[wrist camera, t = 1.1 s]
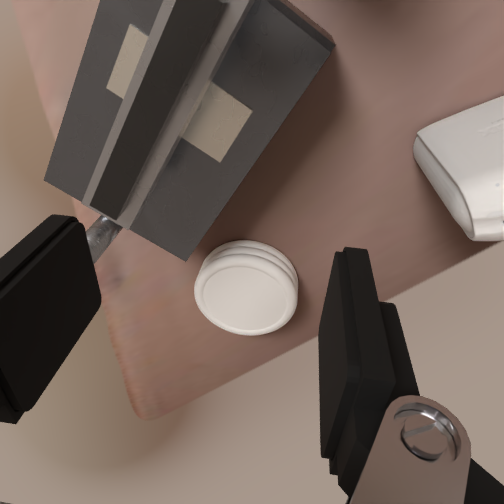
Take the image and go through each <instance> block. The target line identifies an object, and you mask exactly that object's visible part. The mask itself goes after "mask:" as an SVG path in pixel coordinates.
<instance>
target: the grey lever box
mask: <svg viewBox="0 0 504 504" xmlns="http://www.w3.org/2000/svg"><path fill="white" fill-rule="evenodd" d="M162 2H163V0H100V3H99V6H98V9H97V12H96V16H95V19H94V22H93V25H92V28H91V32H90V35H89V38H88V41H87V44H86V47H85V51H84V54H83V57H82V60H81V63H80V66H79V70H78V73H77V76H76V79H75V82H74V85H73V89H72V92H71V95H70V98H69V101H68V104H67V108H66V111H65V114H64V117H63V120H62V124H61V127H60V130H59V133H58V136H57V139H56V143H55V146H54V149H53V152H52V156H51V158H50V162H49V165H48V168H47V171H46V175H45V177H44V181H46V182H48V183H50V184H51V185H53V186H55V187H57V188H58V189H60V190H62V191H64V192H65V193H67V194H69V195H71V196H72V197H74V198H76V199H77V200H79V201H81V202H82V200H83V198H84V195H85V193H86V190H87V188H88V185H89V183H90V180H91V178H92V175H93V173H94V170H95V168H96V166H97V163H98V161H99V158H100V156H101V153H102V151H103V148H104V146H105V143H106V141H107V138H108V136H109V133H110V131H111V128H112V126H113V123H114V121H115V119H116V116H117V114H118V111H119V109H120V106H121V104H122V101H123V99H124V96H125V94H126V91H127V89H128V86H129V84H130V81H131V79H132V77H133V74H134V72H135V69H136V67H137V64H138V62H139V59H140V57H141V54H142V52H143V49H144V47H145V44H146V42H147V39H148V37H149V35H150V32H151V30H152V27H153V25H154V22H155V20H156V17H157V15H158V12H159V10H160V7H161V5H162ZM334 47H335V43H334V40H333V38H332V36H331V35H330V34H329V33H328V32H326V31H325V30H324V29H323V28H321V27H320V26H319V25H318V24H316V23H315V22H314V21H313V20H311V19H310V18H309V17H308V16H306V15H305V14H304V13H303V12H301V11H300V10H299V9H298V8H296V7H295V6H294V5H293V4H291V3H290V2H289V1H288V0H255V1H254V3H253V5H252V7H251V9H250V10H249V12H248V14H247V16H246V18H245V20H244V22H243V24H242V25H241V27H240V29H239V31H238V33H237V35H236V37H235V39H234V40H233V42H232V44H231V46H230V48H229V50H228V52H227V53H226V55H225V57H224V59H223V61H222V63H221V65H220V67H219V68H218V70H217V72H216V74H215V76H214V78H213V80H212V82H211V83H210V85H209V87H208V89H207V91H206V93H205V95H204V96H203V98H202V100H201V102H200V104H199V106H198V108H197V110H196V111H195V113H194V115H193V117H192V119H191V121H190V123H189V125H188V126H187V128H186V130H185V132H184V134H183V136H182V138H181V140H180V141H179V143H178V145H177V147H176V149H175V151H174V153H173V154H172V156H171V158H170V160H169V162H168V164H167V166H166V168H165V169H164V171H163V173H162V175H161V177H160V179H159V181H158V183H157V184H156V186H155V188H154V190H153V192H152V194H151V196H150V197H149V199H148V201H147V203H146V205H145V207H144V209H143V211H142V212H141V214H140V216H139V217H138V218H137V219H136V221H135V222H134V223H133V225H132V226H131V227H130V230H132V231H133V232H135V233H137V234H138V235H140V236H142V237H144V238H145V239H147V240H149V241H151V242H152V243H154V244H156V245H158V246H159V247H161V248H163V249H165V250H166V251H168V252H170V253H172V254H173V255H175V256H177V257H179V258H180V259H182V260H184V261H187V260H188V258H189V257H190V255H191V254H192V252H193V251H194V249H195V248H196V247H197V245H198V244H199V242H200V241H201V239H202V238H203V237H204V235H205V234H206V232H207V231H208V229H209V228H210V226H211V225H212V224H213V222H214V221H215V219H216V218H217V216H218V215H219V213H220V212H221V211H222V209H223V208H224V206H225V205H226V203H227V202H228V201H229V199H230V198H231V196H232V195H233V193H234V192H235V190H236V189H237V188H238V186H239V185H240V183H241V182H242V180H243V179H244V178H245V176H246V175H247V173H248V172H249V170H250V169H251V167H252V166H253V165H254V163H255V162H256V160H257V159H258V157H259V156H260V154H261V153H262V152H263V150H264V149H265V147H266V146H267V144H268V143H269V142H270V140H271V139H272V137H273V136H274V134H275V133H276V131H277V130H278V129H279V127H280V126H281V124H282V123H283V121H284V120H285V118H286V117H287V116H288V114H289V113H290V111H291V110H292V108H293V107H294V106H295V104H296V103H297V101H298V100H299V98H300V97H301V95H302V94H303V93H304V91H305V90H306V88H307V87H308V85H309V84H310V82H311V81H312V80H313V78H314V77H315V75H316V74H317V72H318V71H319V70H320V68H321V67H322V65H323V64H324V62H325V61H326V59H327V58H328V57H329V55H330V54H331V51H332V49H333V48H334ZM122 228H123V227H122V226H120V225H118V224H116V223H115V222H113V221H111V220H110V219H108V218H106V217H104V216H103V215H101V216H100V217H99V218H98V219H97V220H96V221H95V222H94V224H93V225H92V226H91V227H90V228H89V229H88V230H87V231H86V235H87V240H88V244H89V248H90V252H91V256H92V260H93V264H94V263H95V262H96V261H97V260H98V258H99V257H100V256H101V255H102V253H103V252H104V251H105V250H106V248H107V247H108V246H109V245H110V243H111V242H112V241H113V240H114V238H115V237H116V236H117V235H118V233H119V232H120V231H121V230H122Z"/></svg>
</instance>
